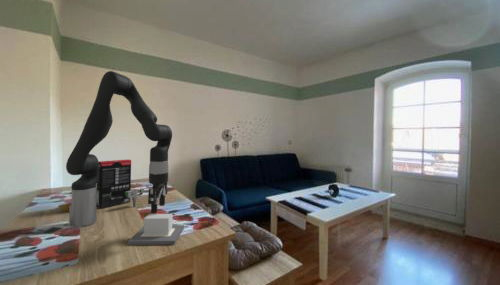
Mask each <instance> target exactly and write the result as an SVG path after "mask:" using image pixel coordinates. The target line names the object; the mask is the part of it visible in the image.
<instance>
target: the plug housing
mask: <svg viewBox="0 0 500 285" xmlns="http://www.w3.org/2000/svg"><path fill="white" fill-rule="evenodd" d="M143 219H144V220H143V226H144V235H169V233H170V232H171V231H172V225H173V214H172V213H148V215H146V216H145V217H144V218H143Z"/></svg>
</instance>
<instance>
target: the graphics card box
mask: <svg viewBox="0 0 500 285" xmlns="http://www.w3.org/2000/svg"><path fill="white" fill-rule="evenodd" d="M98 162H99V172H98V181H97V183H96V208H99V209H105V208H108V207H113V206H118V205H122V204H127V203H130V202H131V198H128V197H126V195H125V192H126V191H130V190H132V189H131V188H132V186H131V183H132V181H131V180H132V159H117V160H116V159H114V160H101V161H99V160H98Z"/></svg>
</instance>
